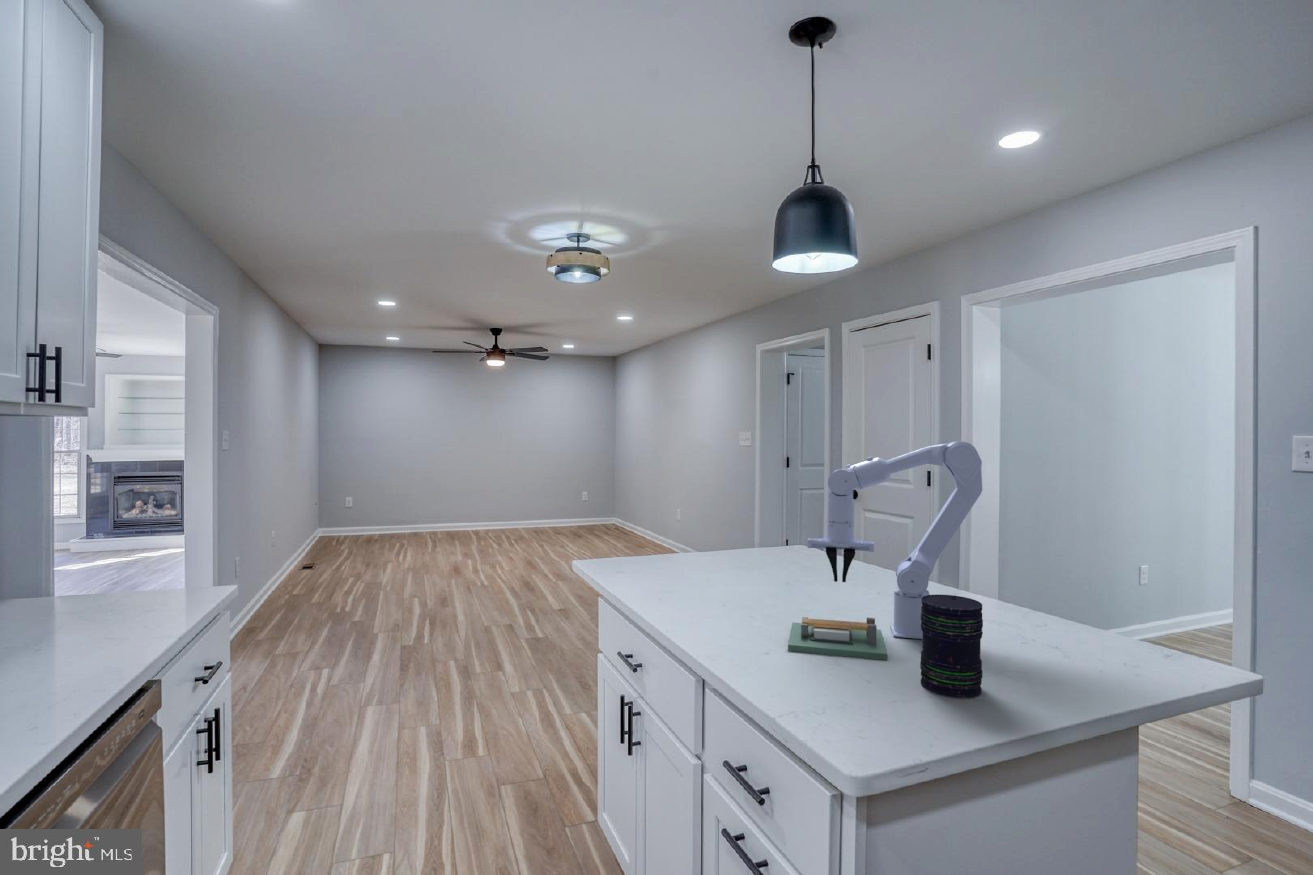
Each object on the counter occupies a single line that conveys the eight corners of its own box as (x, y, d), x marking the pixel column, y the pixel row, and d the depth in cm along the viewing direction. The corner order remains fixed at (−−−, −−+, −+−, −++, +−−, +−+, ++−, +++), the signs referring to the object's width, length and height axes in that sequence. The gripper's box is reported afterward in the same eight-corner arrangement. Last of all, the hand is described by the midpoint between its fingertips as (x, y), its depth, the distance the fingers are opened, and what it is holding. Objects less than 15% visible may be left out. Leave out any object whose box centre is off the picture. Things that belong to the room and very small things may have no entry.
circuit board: (881, 635, 139) (881, 612, 139) (887, 660, 124) (887, 634, 124) (792, 627, 144) (792, 605, 144) (787, 650, 129) (788, 626, 129)
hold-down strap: (873, 630, 133) (874, 622, 133) (874, 635, 130) (874, 626, 130) (802, 625, 137) (802, 617, 137) (802, 629, 134) (802, 621, 134)
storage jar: (979, 703, 104) (980, 612, 104) (915, 690, 109) (916, 603, 109) (984, 683, 112) (985, 599, 112) (925, 672, 117) (925, 591, 117)
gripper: (807, 522, 143) (806, 582, 143) (875, 525, 139) (874, 587, 139) (808, 518, 150) (807, 575, 150) (873, 521, 146) (872, 580, 146)
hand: (839, 581), depth 145 cm, fingers closed
